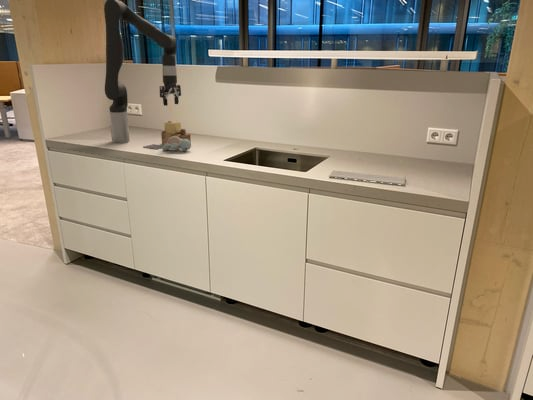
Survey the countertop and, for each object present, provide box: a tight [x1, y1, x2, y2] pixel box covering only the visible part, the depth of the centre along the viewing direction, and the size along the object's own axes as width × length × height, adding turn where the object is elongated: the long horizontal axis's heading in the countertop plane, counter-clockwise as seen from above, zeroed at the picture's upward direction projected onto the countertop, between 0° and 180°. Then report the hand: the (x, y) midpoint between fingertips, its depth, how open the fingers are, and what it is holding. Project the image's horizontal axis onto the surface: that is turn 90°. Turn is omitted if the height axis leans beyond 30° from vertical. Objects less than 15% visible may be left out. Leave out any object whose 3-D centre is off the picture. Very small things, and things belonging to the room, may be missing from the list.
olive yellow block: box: [164, 120, 182, 134], centre depth 232 cm, size 8×5×7 cm, turn 60°
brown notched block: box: [161, 128, 192, 145], centre depth 233 cm, size 15×8×9 cm, turn 60°
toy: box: [161, 136, 192, 152], centre depth 218 cm, size 12×10×15 cm
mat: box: [143, 143, 164, 150], centre depth 226 cm, size 10×8×1 cm
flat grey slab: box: [328, 170, 406, 186], centre depth 175 cm, size 31×3×12 cm
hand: (171, 104), depth 227 cm, fingers open, 8 cm apart
